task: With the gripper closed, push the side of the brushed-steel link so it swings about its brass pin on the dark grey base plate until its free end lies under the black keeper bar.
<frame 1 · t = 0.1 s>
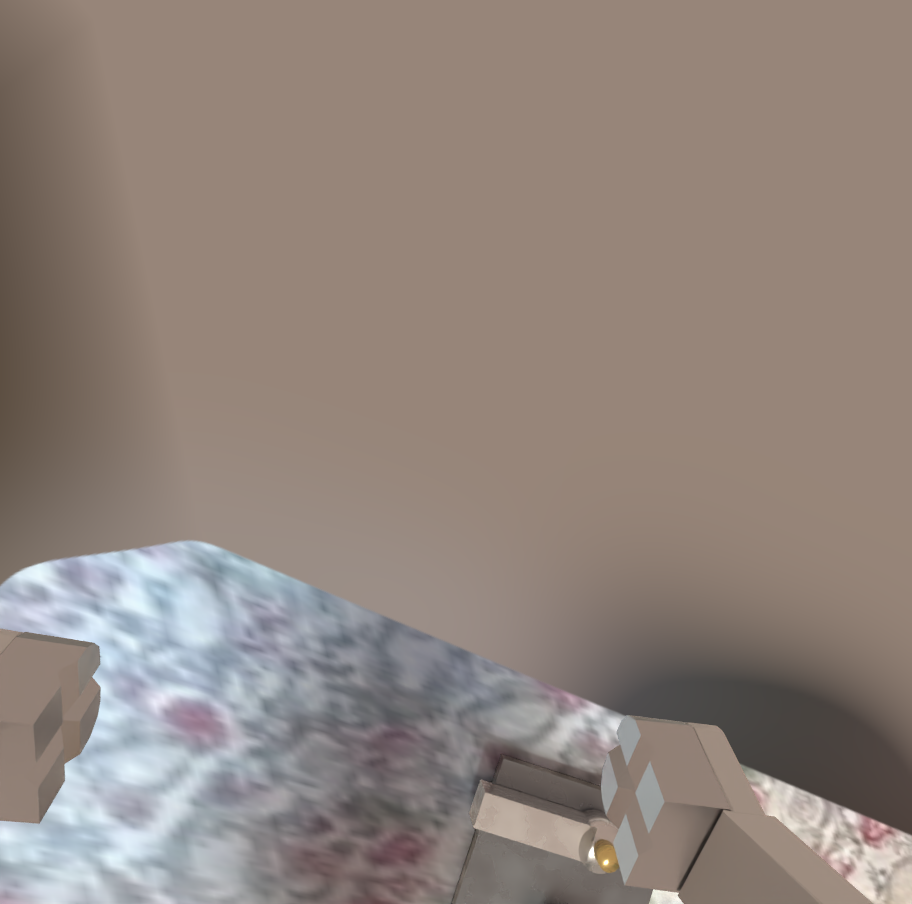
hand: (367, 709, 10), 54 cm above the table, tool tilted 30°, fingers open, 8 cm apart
link: (548, 825, 62), point 3 cm above the table, hinge at 0.0°
pintle base: (562, 875, 64), on the table
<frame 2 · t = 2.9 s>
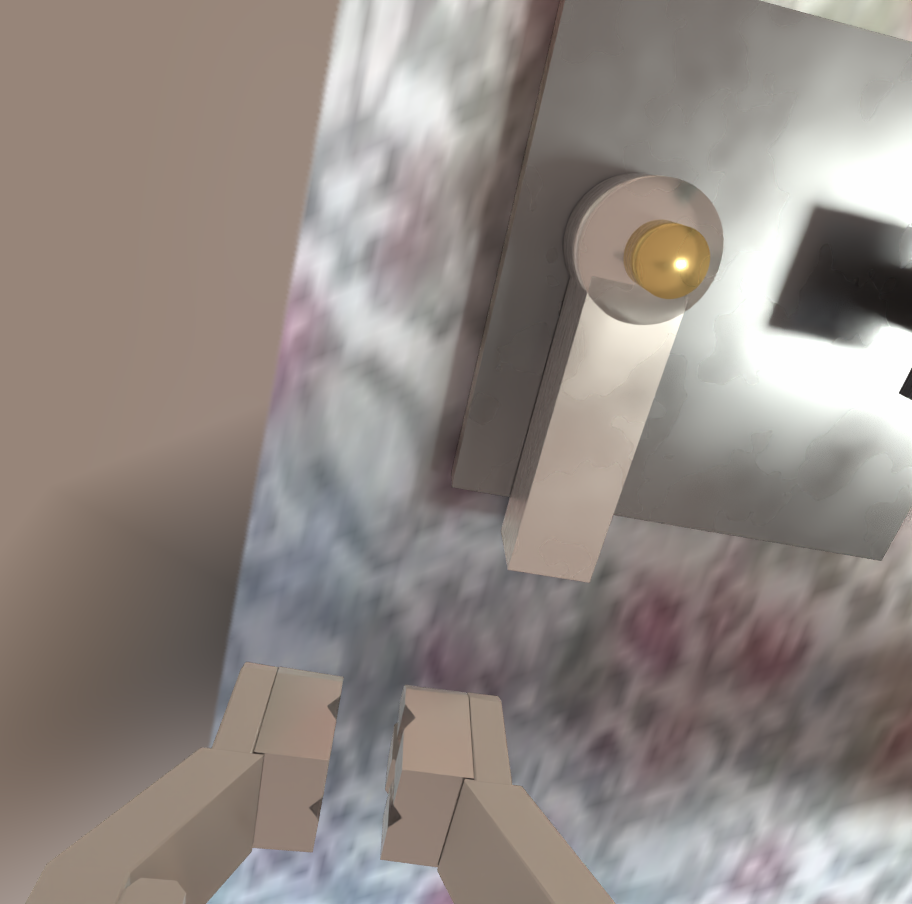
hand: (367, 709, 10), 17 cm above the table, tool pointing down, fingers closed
link: (595, 388, 24), point 3 cm above the table, hinge at 0.0°
pintle base: (736, 291, 25), on the table
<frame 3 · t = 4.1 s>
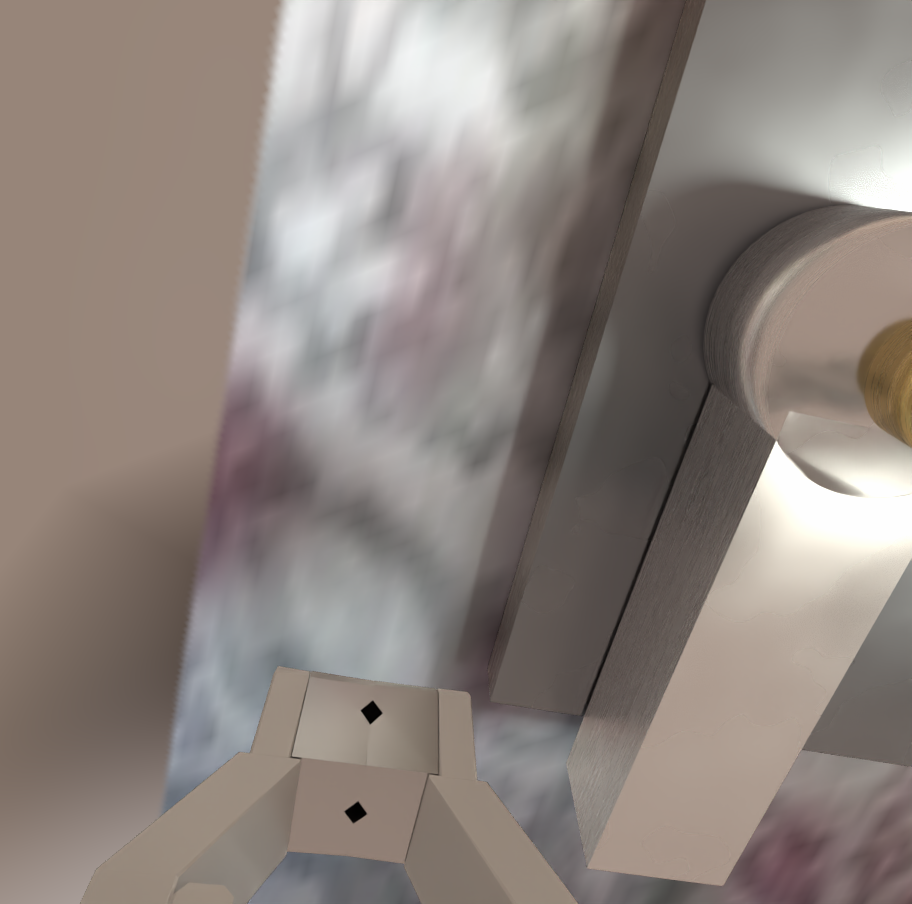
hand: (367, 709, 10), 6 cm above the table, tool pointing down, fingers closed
link: (751, 580, 13), point 3 cm above the table, hinge at 0.0°
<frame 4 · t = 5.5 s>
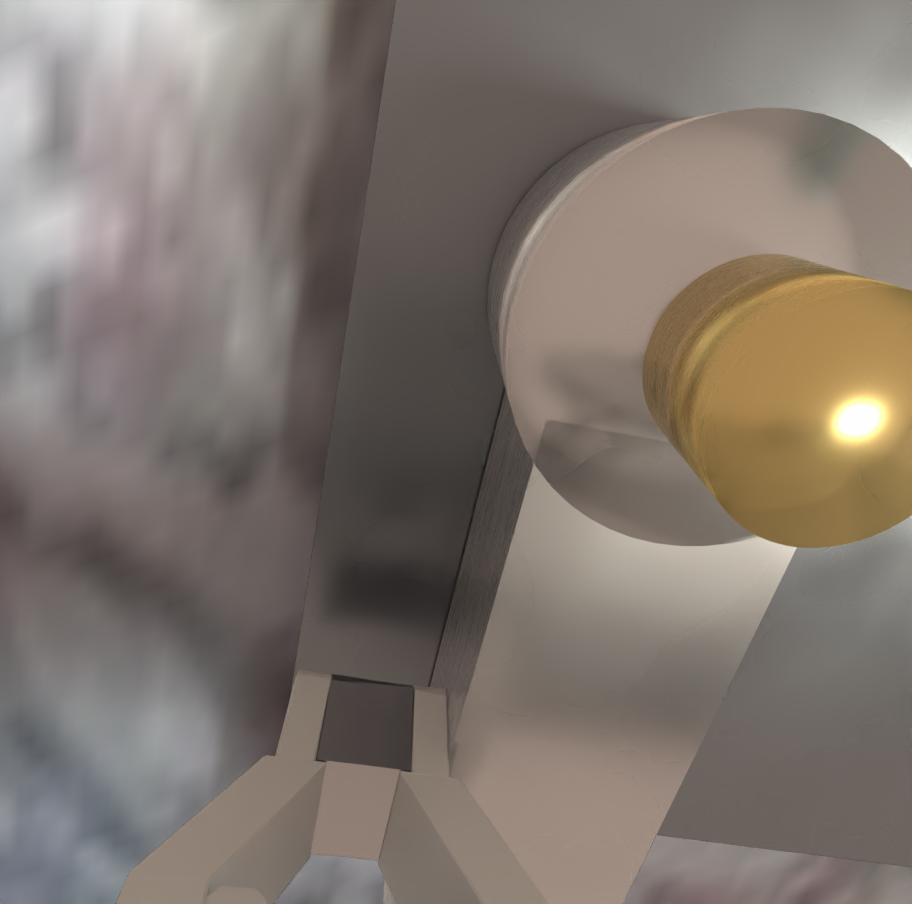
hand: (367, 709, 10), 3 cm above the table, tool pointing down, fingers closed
link: (567, 646, 10), point 3 cm above the table, hinge at 0.2°, touching gripper
pintle base: (886, 401, 11), on the table
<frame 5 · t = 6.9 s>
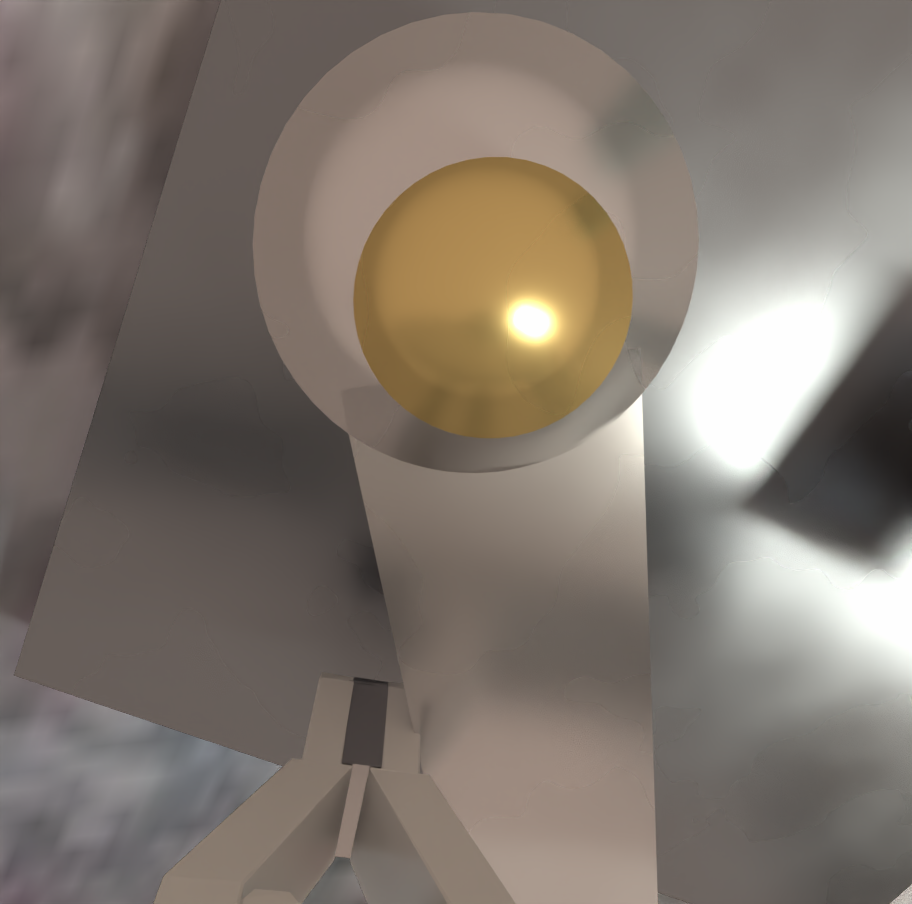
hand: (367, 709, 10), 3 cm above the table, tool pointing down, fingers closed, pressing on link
link: (514, 595, 10), point 3 cm above the table, hinge at 34.6°, touching gripper
pintle base: (696, 419, 12), on the table
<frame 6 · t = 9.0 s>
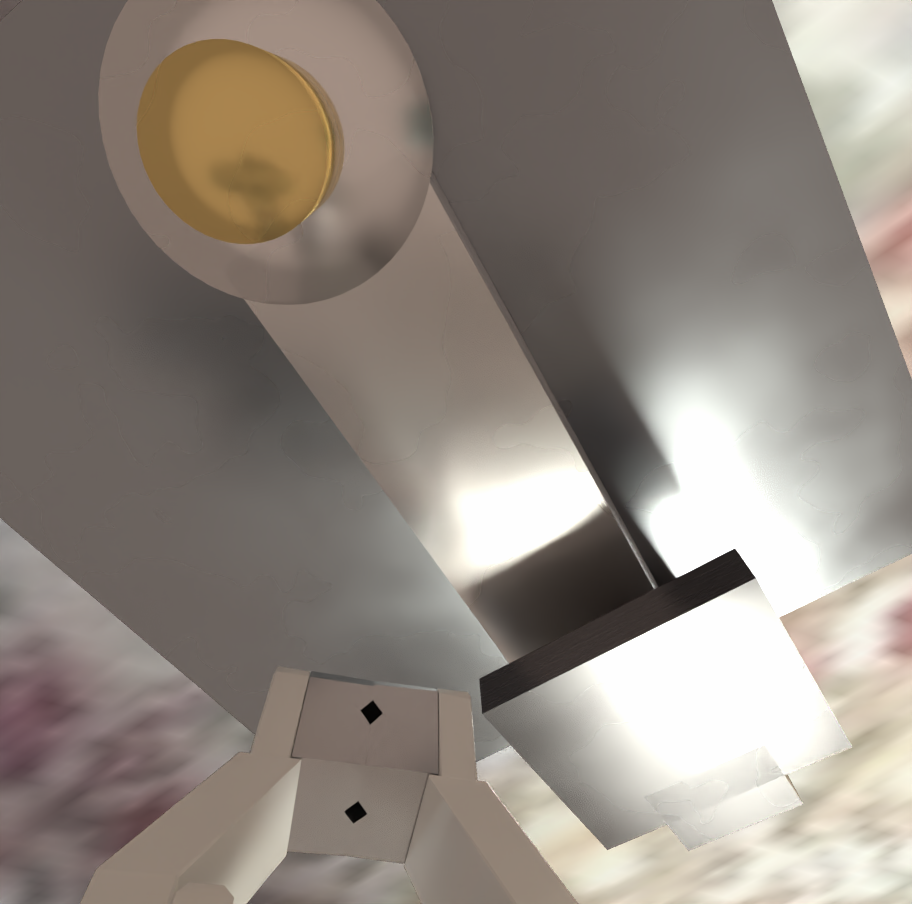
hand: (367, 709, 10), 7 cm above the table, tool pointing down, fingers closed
link: (450, 396, 12), point 3 cm above the table, hinge at 86.3°
pintle base: (426, 369, 15), on the table
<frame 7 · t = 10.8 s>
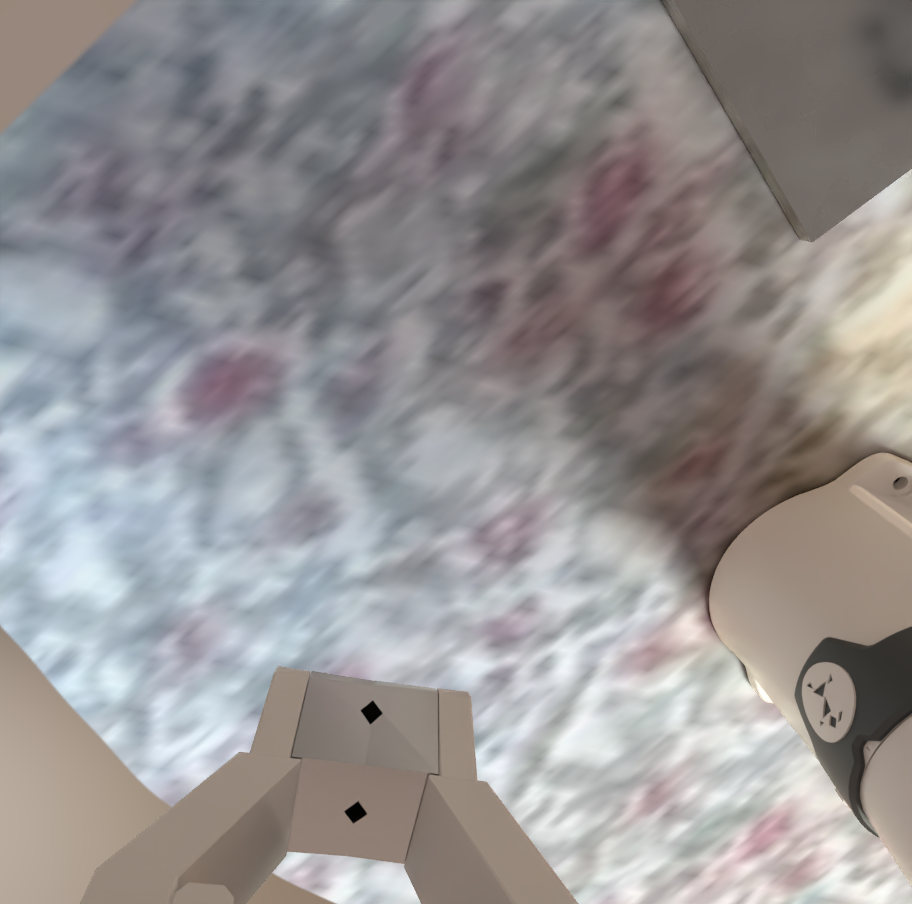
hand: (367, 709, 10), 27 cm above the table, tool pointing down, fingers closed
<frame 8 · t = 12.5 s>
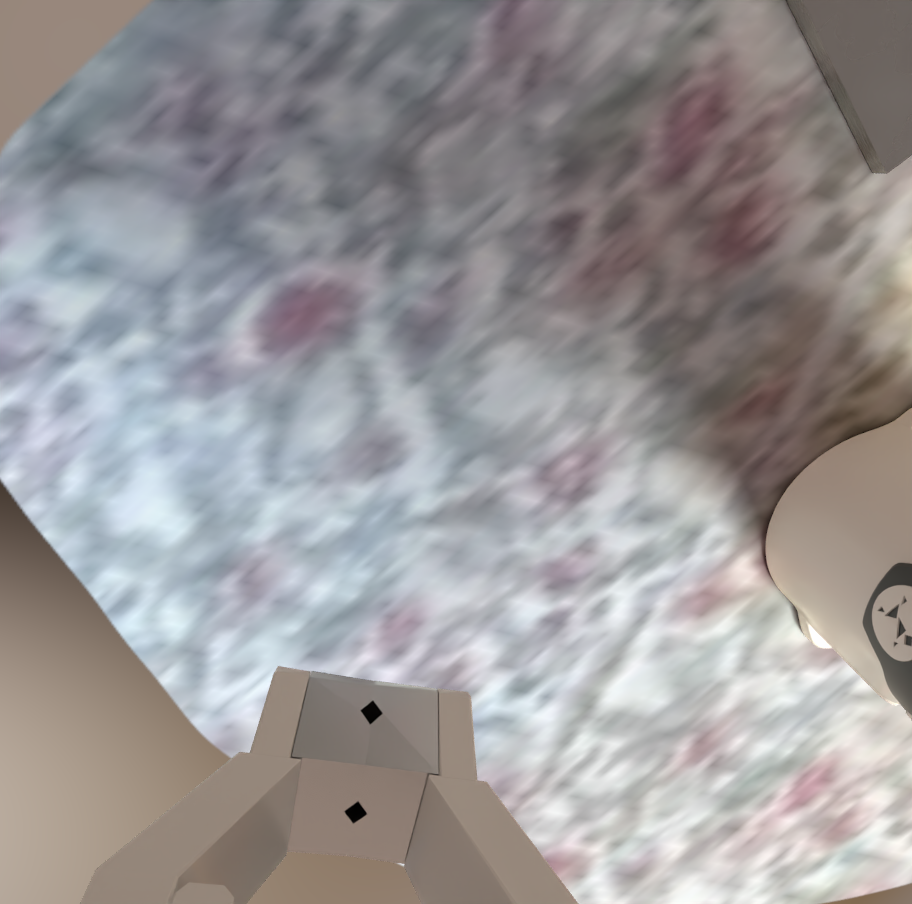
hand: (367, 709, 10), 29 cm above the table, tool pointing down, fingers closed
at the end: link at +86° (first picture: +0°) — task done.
